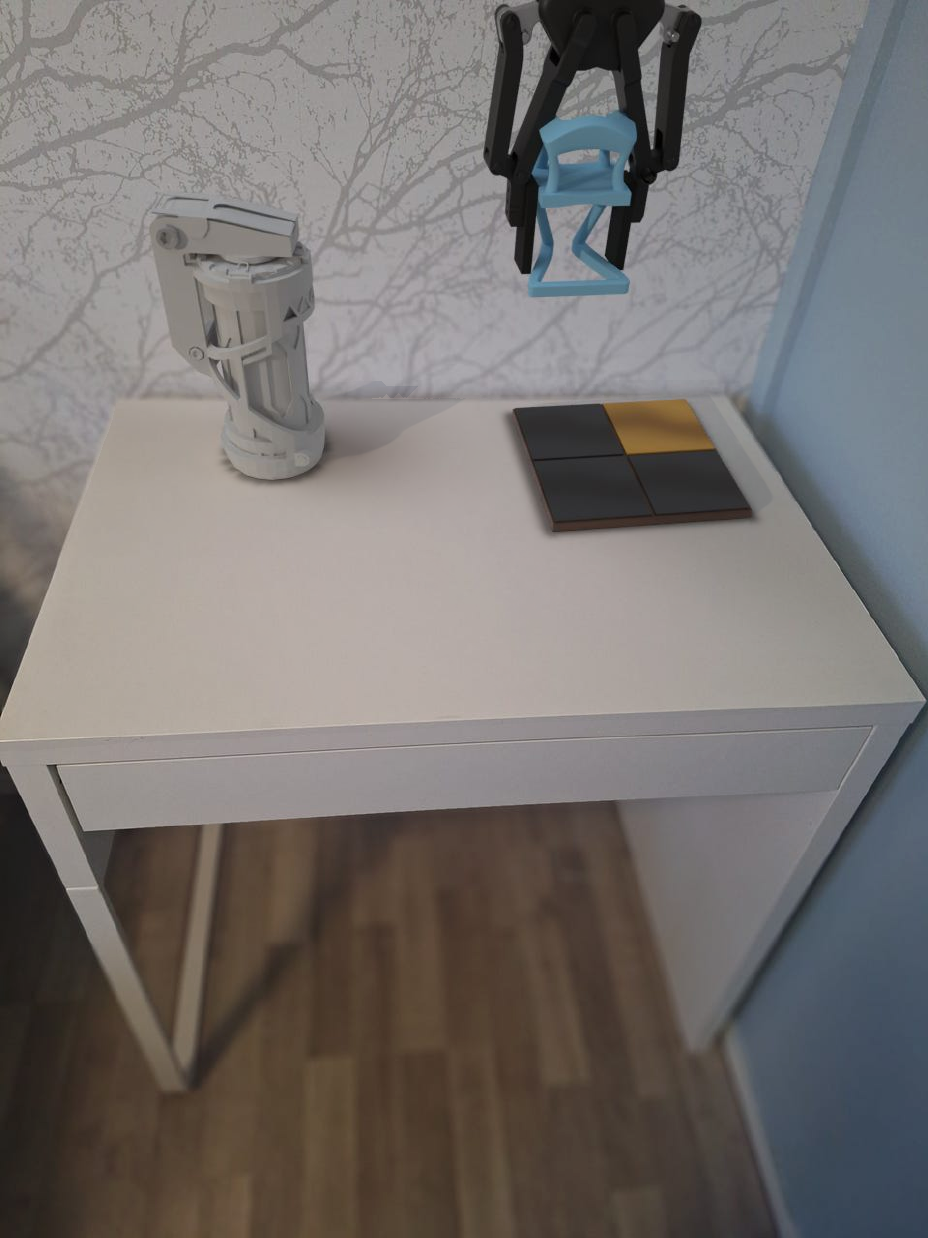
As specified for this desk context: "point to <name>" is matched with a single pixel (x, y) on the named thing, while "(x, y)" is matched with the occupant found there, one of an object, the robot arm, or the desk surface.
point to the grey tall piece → (243, 322)
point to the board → (626, 465)
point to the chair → (581, 195)
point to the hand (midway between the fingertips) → (568, 264)
